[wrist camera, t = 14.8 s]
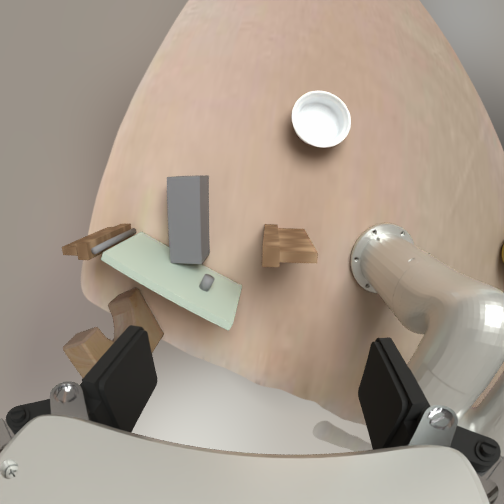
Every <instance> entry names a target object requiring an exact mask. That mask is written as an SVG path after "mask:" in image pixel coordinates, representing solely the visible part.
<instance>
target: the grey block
mask: <svg viewBox="0 0 504 504" xmlns="http://www.w3.org/2000/svg"><path fill="white" fill-rule="evenodd" d="M167 204H168V229H169V246H170V261H171V263H188V264H202V263H203V262H204V260H205V259H206V257H207V256H208V255H209V253H210V249H209V176H176V177H167Z"/></svg>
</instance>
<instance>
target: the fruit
mask: <svg viewBox="0 0 504 504" xmlns="http://www.w3.org/2000/svg"><path fill="white" fill-rule="evenodd" d="M502 260H503V263H504V244H503V247H502Z"/></svg>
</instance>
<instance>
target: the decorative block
mask: <svg viewBox="0 0 504 504" xmlns="http://www.w3.org/2000/svg"><path fill="white" fill-rule="evenodd" d="M108 307H109V309H110V312H111V314H112V317H113V322H114V339H113V341H111V340H110V339H108V338H106V337H105V335H104V334H103V333H102V332H101V331H100V329H99V328H98V327H94V328H91V329H88V330H86V331H83V332H80V333H77V334H76V335H75V336H74V337H73V338H72V339H71V340H70V341H69V342H68V343H67V344H65V345H64V347H63V350H64V352H65V353H66V355H67V356H68V358H69V359H70V361H71V362H72V364H73V365H74V366H75V368H76V369H77V371H78V372H79V373H80V375H81V376H82V377H83V378H84V377H85V375H86V374H87V373H88V372H89V371H90V370H91V368H92V367H93V366H94V365H95V364H96V363H97V361H98V360H99V359H100V358H101V357H102V356H103V355H104V353H105V352H106V351H107V350H108V349H109V348H110V347H111V345H112V344H113V343H114V342H115V341H116V340H117V339H118V338H119V336H120V335H121V334H122V333H123V332H124V331H125V330H126V329H127V328H128V326H130V325H133V326H140V327H143V328H144V330H145V331H147V333H148V337H149V342H150V347H151V352H153V351H154V349H155V347H156V346H157V344H158V343H159V341H160V339H161V338H162V336H163V334H164V333H163V332H162V330H161V328H160V327H159V325H158V323H157V322H156V320H155V318H154V316H153V315H152V313H151V311H150V309H149V308H148V306H147V304H146V302H145V300H144V299H143V297H142V295H141V293H140V291H139V289H137V288H134V289H132V290H130V291H127V292H125V293H122V294H120V295H118V296H117V297H116V298H115V299H113V300H112V301H111V302H110V303H109V304H108Z"/></svg>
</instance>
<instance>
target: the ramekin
mask: <svg viewBox="0 0 504 504" xmlns="http://www.w3.org/2000/svg"><path fill="white" fill-rule="evenodd" d="M292 124H293V127H294V130H295V132H296V134H297V135H298V137H299V138H300V139H301V140H302V141H304V142H305V143H307V144H309V145H312V146H315V147H321V148H327V147H332V146H335V145H337V144H339V143H341V142H342V141H343V140H344V139H345V138H346V136H347V135H348V133H349V130H350V126H351V118H350V114H349V111H348V109H347V107H346V105H345V104H344V103H343V102H342V101H341V100H340V99H339V98H338V97H337V96H335V95H333V94H331V93H328V92H325V91H312V92H308V93H306V94H304V95H303V96H301V97H300V98H299V99H298V100H297V101H296V103H295V105H294V107H293V110H292Z"/></svg>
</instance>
